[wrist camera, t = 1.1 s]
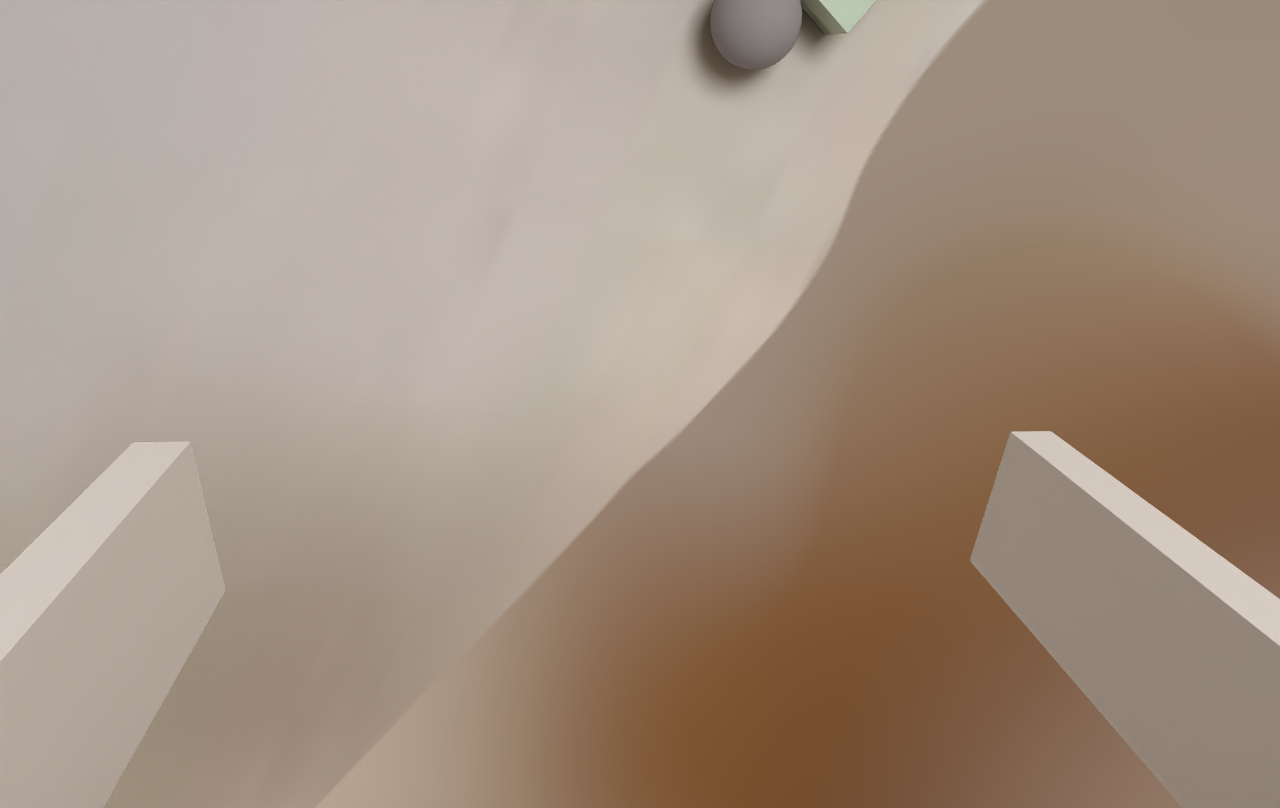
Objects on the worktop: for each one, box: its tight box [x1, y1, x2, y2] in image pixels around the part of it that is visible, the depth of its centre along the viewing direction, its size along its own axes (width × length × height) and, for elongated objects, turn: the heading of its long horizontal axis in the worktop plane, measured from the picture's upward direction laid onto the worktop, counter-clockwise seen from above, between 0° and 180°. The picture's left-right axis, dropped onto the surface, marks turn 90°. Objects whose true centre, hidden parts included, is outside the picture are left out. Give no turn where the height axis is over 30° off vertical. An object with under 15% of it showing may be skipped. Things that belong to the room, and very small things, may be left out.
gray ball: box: [710, 0, 802, 70], centre depth 29 cm, size 4×4×4 cm
